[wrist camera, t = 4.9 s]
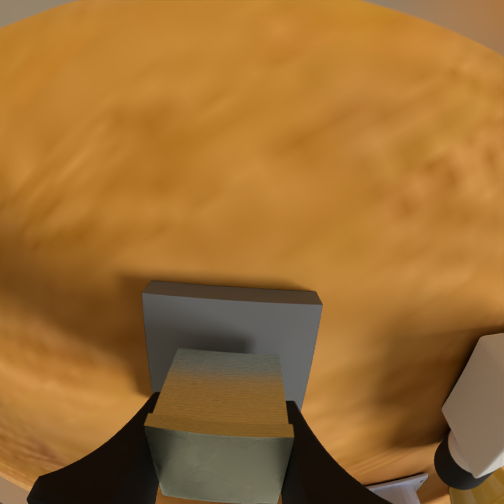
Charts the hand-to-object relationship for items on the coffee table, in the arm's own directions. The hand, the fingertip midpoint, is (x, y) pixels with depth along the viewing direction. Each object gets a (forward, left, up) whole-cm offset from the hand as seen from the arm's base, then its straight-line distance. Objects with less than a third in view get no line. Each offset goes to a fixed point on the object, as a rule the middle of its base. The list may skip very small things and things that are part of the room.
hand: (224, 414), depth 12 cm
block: (0, 0, -5) cm, 5 cm away
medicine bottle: (+1, -19, 0) cm, 19 cm away
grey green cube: (0, 0, -2) cm, 2 cm away
